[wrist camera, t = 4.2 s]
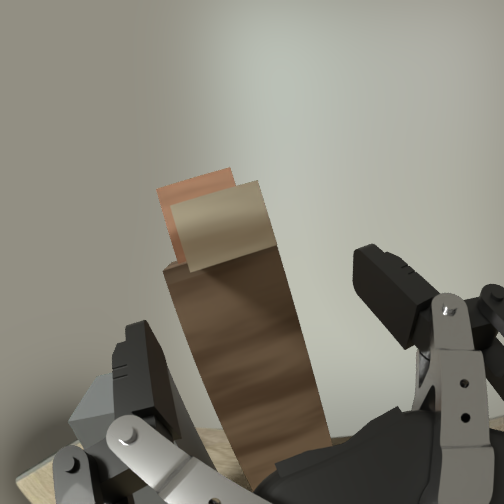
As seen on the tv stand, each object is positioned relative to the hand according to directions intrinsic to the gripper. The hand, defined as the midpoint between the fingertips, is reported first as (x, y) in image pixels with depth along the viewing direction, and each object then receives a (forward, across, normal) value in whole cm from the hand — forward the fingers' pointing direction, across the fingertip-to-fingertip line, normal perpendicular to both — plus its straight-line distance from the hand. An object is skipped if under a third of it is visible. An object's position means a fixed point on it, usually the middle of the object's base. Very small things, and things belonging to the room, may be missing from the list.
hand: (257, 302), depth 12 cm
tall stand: (-2, 0, +34) cm, 34 cm away
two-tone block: (+10, 0, +4) cm, 11 cm away
